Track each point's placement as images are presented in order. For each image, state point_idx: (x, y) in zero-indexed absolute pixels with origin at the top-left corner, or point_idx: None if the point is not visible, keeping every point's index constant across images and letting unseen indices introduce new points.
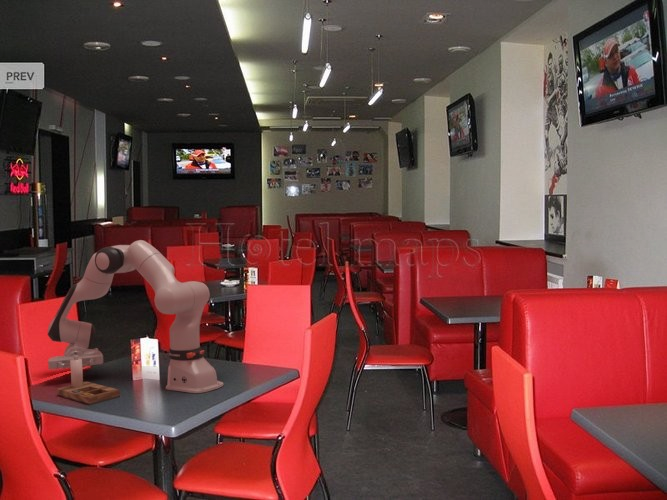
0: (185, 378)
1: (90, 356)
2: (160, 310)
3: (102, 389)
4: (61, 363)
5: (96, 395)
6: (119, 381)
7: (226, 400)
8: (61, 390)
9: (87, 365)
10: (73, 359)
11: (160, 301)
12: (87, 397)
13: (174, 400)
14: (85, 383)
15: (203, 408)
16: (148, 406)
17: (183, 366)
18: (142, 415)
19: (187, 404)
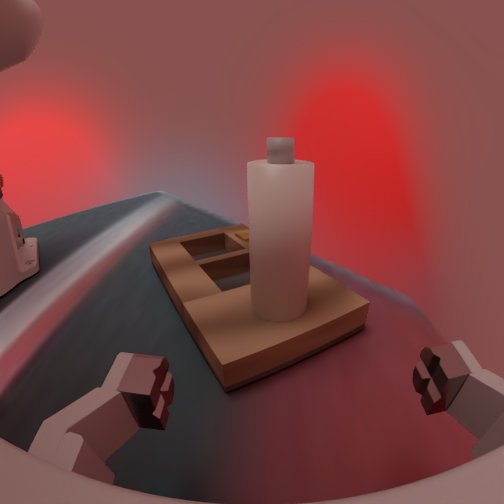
0: (18, 232)
1: (39, 472)
2: (33, 46)
3: (189, 255)
4: (475, 363)
5: (221, 229)
6: (35, 427)
7: (47, 221)
8: (342, 287)
9: (172, 393)
10: (296, 164)
11: (42, 26)
12: (246, 226)
13: (86, 231)
14: (235, 333)
15: (90, 210)
16: (138, 222)
17: (9, 207)
18: (169, 206)
19: (90, 219)
